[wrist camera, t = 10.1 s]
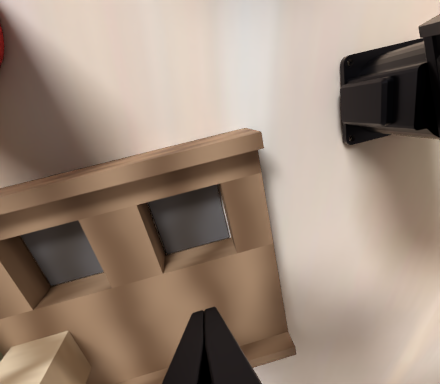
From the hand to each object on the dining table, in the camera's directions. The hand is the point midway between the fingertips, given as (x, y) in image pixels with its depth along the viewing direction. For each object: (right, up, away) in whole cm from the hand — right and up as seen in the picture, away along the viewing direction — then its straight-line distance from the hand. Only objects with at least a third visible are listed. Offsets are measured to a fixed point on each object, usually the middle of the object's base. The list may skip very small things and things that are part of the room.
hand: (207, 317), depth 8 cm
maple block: (-13, -9, +11) cm, 20 cm away
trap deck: (-7, -3, +13) cm, 15 cm away
